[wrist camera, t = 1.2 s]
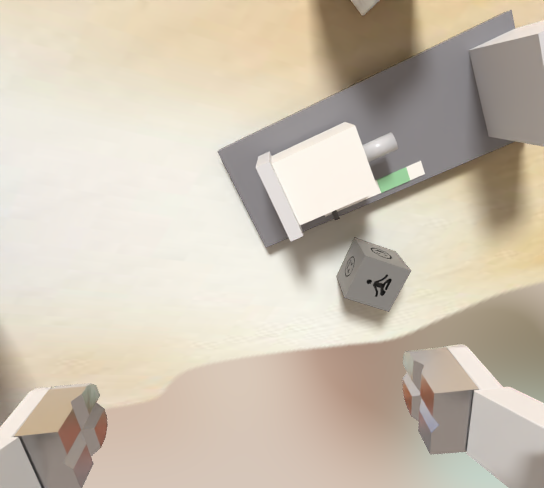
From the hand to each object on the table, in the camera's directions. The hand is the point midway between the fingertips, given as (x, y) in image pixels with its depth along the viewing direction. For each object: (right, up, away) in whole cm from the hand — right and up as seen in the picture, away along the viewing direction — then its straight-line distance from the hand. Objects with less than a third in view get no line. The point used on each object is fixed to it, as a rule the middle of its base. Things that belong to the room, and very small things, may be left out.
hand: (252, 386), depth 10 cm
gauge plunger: (+6, +11, +26) cm, 29 cm away
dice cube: (+11, +2, +32) cm, 34 cm away
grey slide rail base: (+10, +14, +27) cm, 32 cm away
